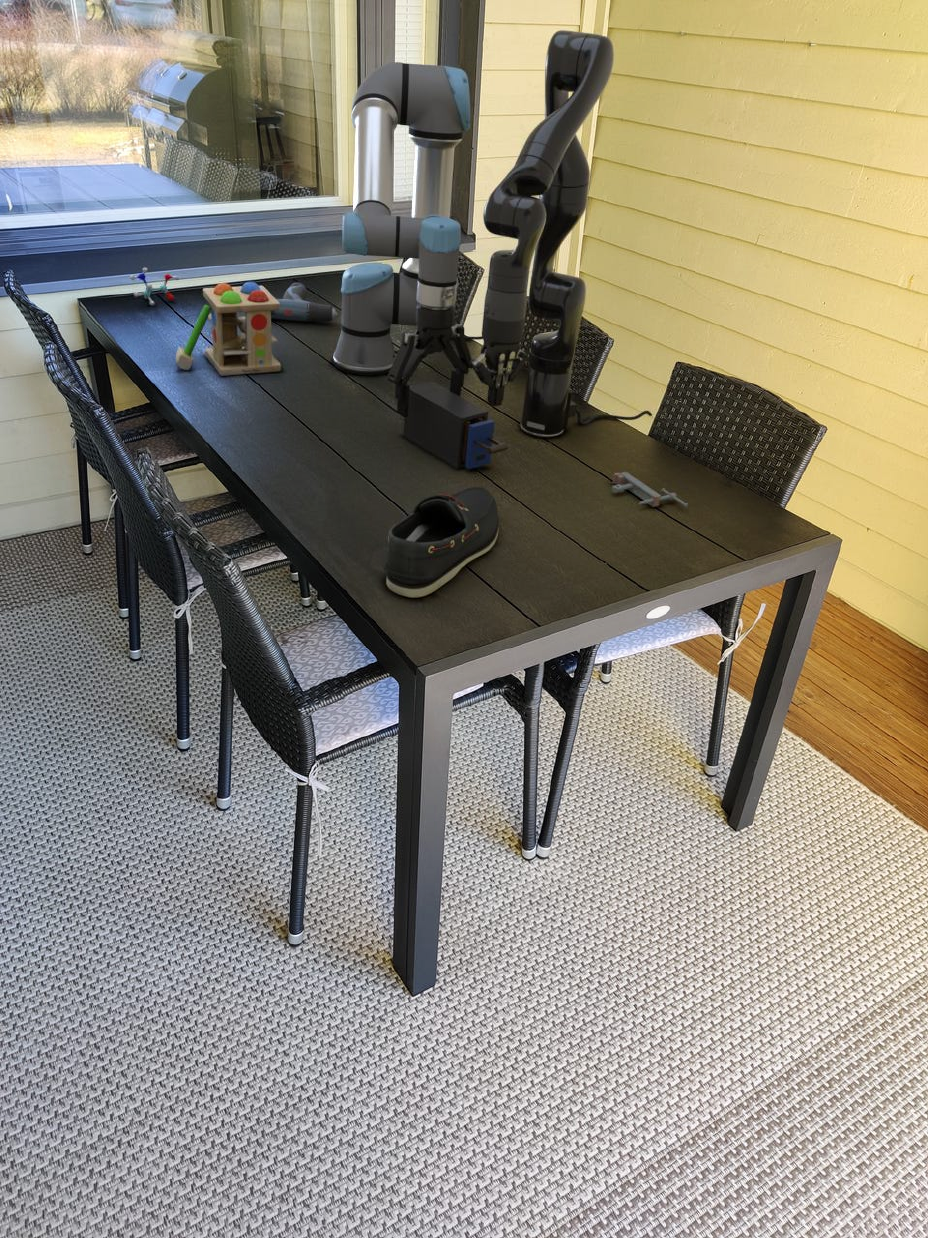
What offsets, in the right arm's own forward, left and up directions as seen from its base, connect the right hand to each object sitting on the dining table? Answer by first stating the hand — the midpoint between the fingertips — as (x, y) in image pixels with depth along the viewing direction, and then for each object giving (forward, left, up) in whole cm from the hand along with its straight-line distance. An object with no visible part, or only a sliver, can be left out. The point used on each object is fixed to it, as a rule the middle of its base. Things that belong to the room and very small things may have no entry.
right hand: (494, 404), depth 185 cm
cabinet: (+2, -14, -15) cm, 20 cm away
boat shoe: (+24, +22, -15) cm, 35 cm away
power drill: (-9, -103, -15) cm, 105 cm away
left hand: (+2, -19, -8) cm, 21 cm away
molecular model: (+25, -125, -15) cm, 129 cm away
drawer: (+1, -8, -14) cm, 16 cm away
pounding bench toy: (+25, -73, -15) cm, 79 cm away
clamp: (-23, +21, -15) cm, 34 cm away
